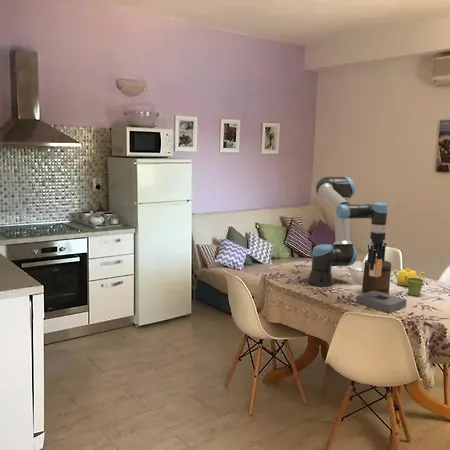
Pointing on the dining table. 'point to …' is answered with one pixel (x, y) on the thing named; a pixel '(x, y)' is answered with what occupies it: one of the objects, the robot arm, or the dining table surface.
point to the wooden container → (377, 279)
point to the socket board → (381, 301)
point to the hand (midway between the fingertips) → (375, 275)
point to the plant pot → (414, 286)
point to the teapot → (406, 276)
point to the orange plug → (377, 267)
